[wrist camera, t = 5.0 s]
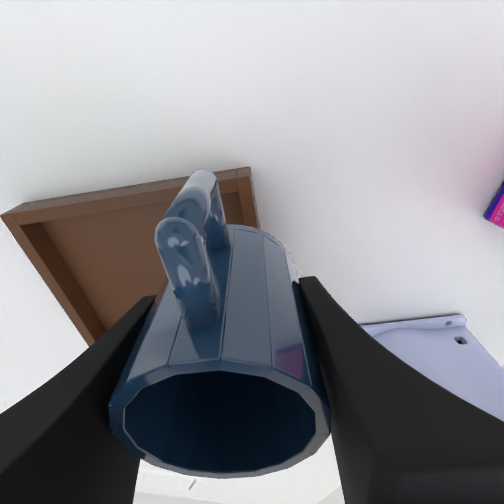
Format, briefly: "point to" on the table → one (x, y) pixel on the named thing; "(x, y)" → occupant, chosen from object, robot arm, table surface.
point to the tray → (111, 243)
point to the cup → (221, 352)
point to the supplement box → (496, 209)
